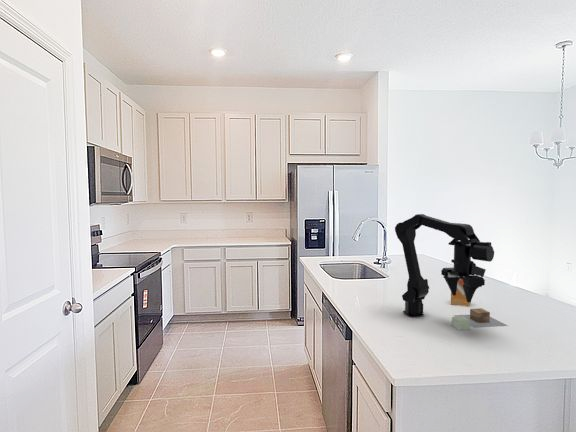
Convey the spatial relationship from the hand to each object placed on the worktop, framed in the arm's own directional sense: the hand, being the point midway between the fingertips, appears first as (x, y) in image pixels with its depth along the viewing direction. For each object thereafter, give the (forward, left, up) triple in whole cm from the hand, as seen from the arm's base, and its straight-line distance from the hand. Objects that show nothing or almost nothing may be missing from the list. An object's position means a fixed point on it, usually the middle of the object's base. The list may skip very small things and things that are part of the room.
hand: (461, 298), depth 140 cm
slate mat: (+12, +6, -12) cm, 18 cm away
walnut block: (+12, +6, -11) cm, 17 cm away
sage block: (0, 0, -12) cm, 12 cm away
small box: (+18, +28, -12) cm, 35 cm away
